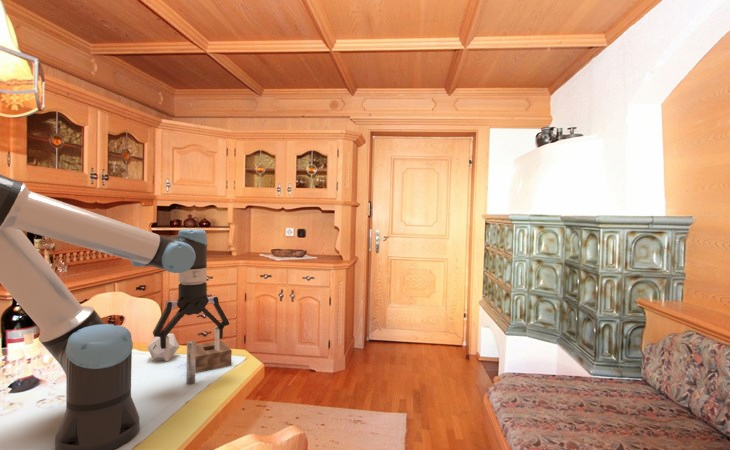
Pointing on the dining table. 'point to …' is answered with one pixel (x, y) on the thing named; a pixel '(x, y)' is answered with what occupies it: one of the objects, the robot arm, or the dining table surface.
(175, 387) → the dining table surface
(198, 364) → the socket block
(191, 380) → the pin
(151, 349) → the die
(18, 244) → the robot arm
